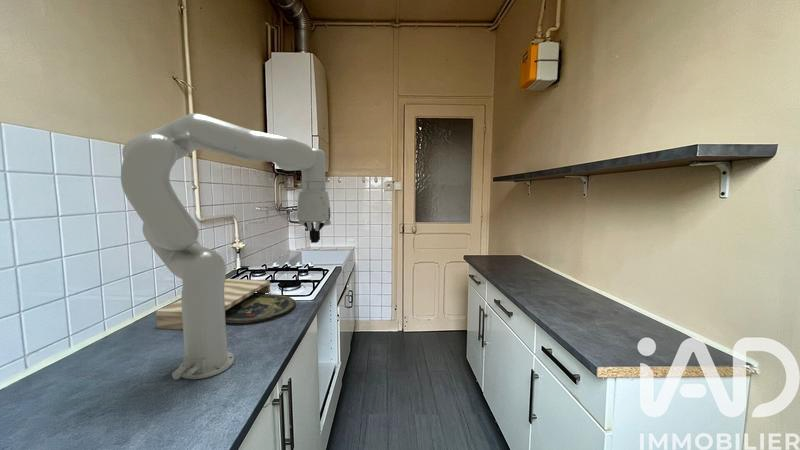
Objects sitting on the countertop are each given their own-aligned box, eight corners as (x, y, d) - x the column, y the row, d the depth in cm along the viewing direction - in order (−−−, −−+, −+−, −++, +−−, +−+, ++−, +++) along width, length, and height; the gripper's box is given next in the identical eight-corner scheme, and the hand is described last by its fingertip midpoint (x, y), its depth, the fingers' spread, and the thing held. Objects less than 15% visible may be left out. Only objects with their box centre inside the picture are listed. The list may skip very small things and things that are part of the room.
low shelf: (214, 330, 107) (213, 313, 106) (157, 328, 109) (156, 310, 108) (270, 293, 146) (269, 280, 145) (227, 291, 147) (227, 278, 147)
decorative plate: (267, 324, 109) (190, 316, 114) (267, 330, 109) (190, 322, 115) (309, 296, 138) (246, 291, 144) (309, 301, 138) (246, 295, 144)
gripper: (287, 186, 104) (288, 243, 106) (332, 187, 102) (333, 244, 105) (296, 187, 111) (297, 240, 113) (339, 187, 110) (339, 241, 112)
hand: (314, 242), depth 109 cm, fingers closed
